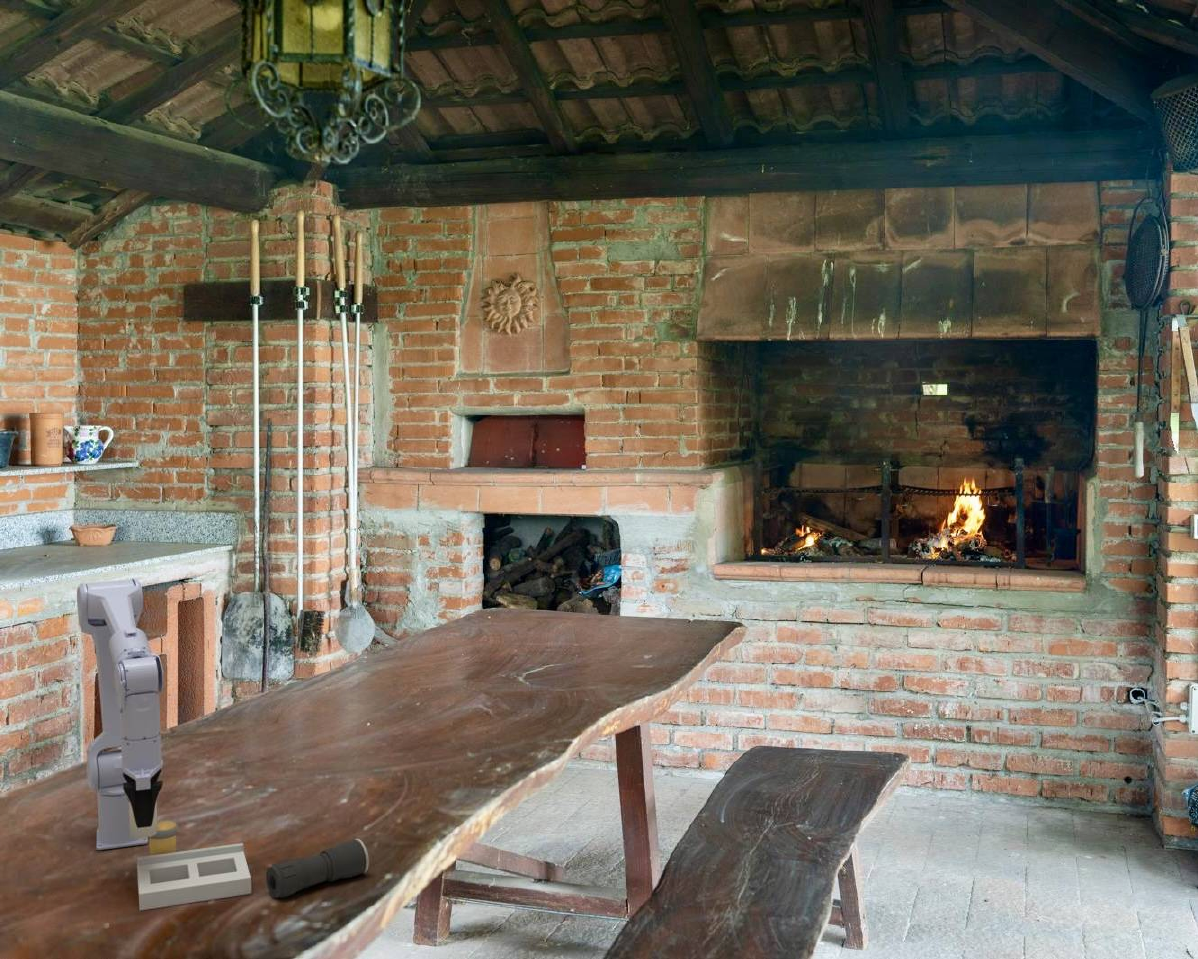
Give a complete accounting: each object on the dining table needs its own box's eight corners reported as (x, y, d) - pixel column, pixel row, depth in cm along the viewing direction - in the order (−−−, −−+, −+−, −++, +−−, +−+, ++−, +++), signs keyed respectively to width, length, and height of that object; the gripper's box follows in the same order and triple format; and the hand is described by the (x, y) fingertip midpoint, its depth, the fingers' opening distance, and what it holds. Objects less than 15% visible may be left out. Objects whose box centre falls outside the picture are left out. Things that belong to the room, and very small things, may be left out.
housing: (137, 879, 194) (136, 857, 193) (243, 864, 200) (242, 843, 199) (139, 910, 183) (138, 887, 182) (251, 893, 189) (250, 871, 188)
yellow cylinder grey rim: (147, 864, 199) (146, 822, 199) (178, 860, 201) (176, 819, 200) (148, 875, 195) (147, 833, 194) (179, 871, 197) (178, 829, 196)
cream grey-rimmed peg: (128, 830, 193) (126, 786, 192) (159, 826, 194) (158, 783, 194) (127, 840, 189) (126, 795, 188) (159, 836, 190) (158, 792, 189)
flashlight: (279, 905, 185) (278, 871, 184) (263, 894, 189) (262, 860, 189) (369, 877, 195) (368, 844, 195) (352, 867, 199) (351, 834, 199)
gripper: (113, 725, 195) (116, 808, 197) (112, 751, 182) (116, 841, 183) (160, 720, 198) (163, 803, 199) (163, 746, 184) (166, 834, 186)
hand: (144, 820), depth 191 cm, fingers closed on cream grey-rimmed peg, 4 cm apart
